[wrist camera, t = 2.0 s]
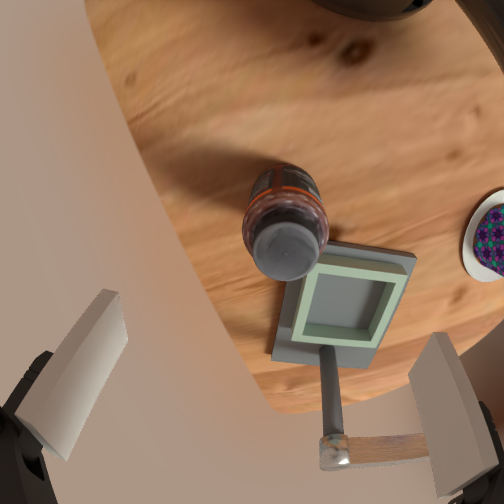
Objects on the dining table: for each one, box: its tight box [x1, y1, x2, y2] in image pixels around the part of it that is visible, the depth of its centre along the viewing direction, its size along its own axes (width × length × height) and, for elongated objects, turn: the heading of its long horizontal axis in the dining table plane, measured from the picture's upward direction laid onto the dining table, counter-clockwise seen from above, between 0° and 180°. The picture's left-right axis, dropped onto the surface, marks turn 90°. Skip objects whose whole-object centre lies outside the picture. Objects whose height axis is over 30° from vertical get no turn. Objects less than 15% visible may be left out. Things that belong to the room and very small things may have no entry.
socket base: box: [271, 240, 417, 437], centre depth 27 cm, size 17×13×13 cm
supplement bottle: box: [242, 164, 329, 281], centre depth 23 cm, size 6×6×11 cm
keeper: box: [319, 433, 430, 471], centre depth 23 cm, size 13×3×3 cm, turn 85°
